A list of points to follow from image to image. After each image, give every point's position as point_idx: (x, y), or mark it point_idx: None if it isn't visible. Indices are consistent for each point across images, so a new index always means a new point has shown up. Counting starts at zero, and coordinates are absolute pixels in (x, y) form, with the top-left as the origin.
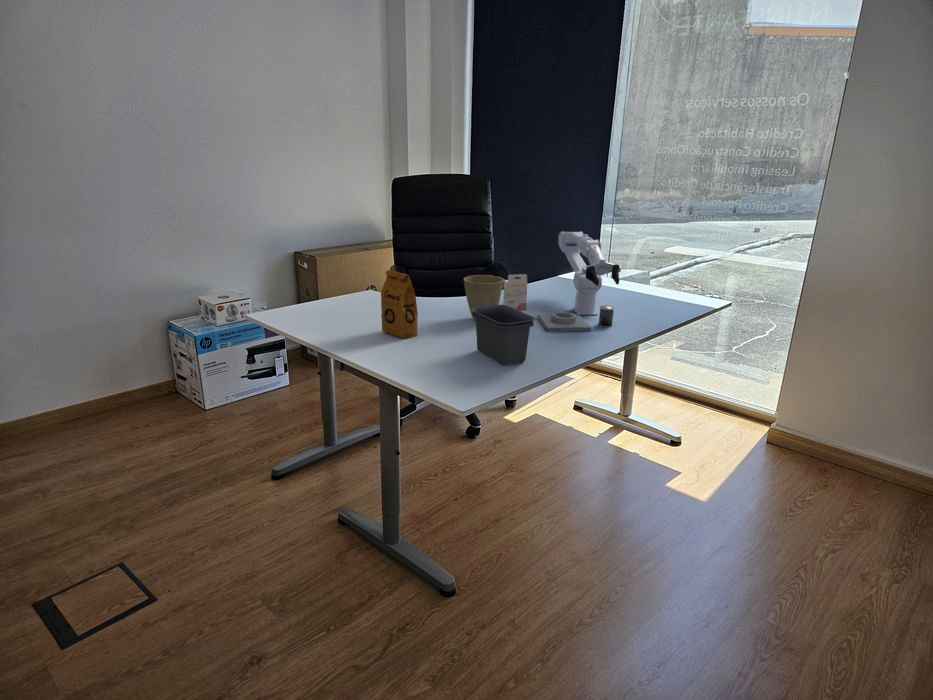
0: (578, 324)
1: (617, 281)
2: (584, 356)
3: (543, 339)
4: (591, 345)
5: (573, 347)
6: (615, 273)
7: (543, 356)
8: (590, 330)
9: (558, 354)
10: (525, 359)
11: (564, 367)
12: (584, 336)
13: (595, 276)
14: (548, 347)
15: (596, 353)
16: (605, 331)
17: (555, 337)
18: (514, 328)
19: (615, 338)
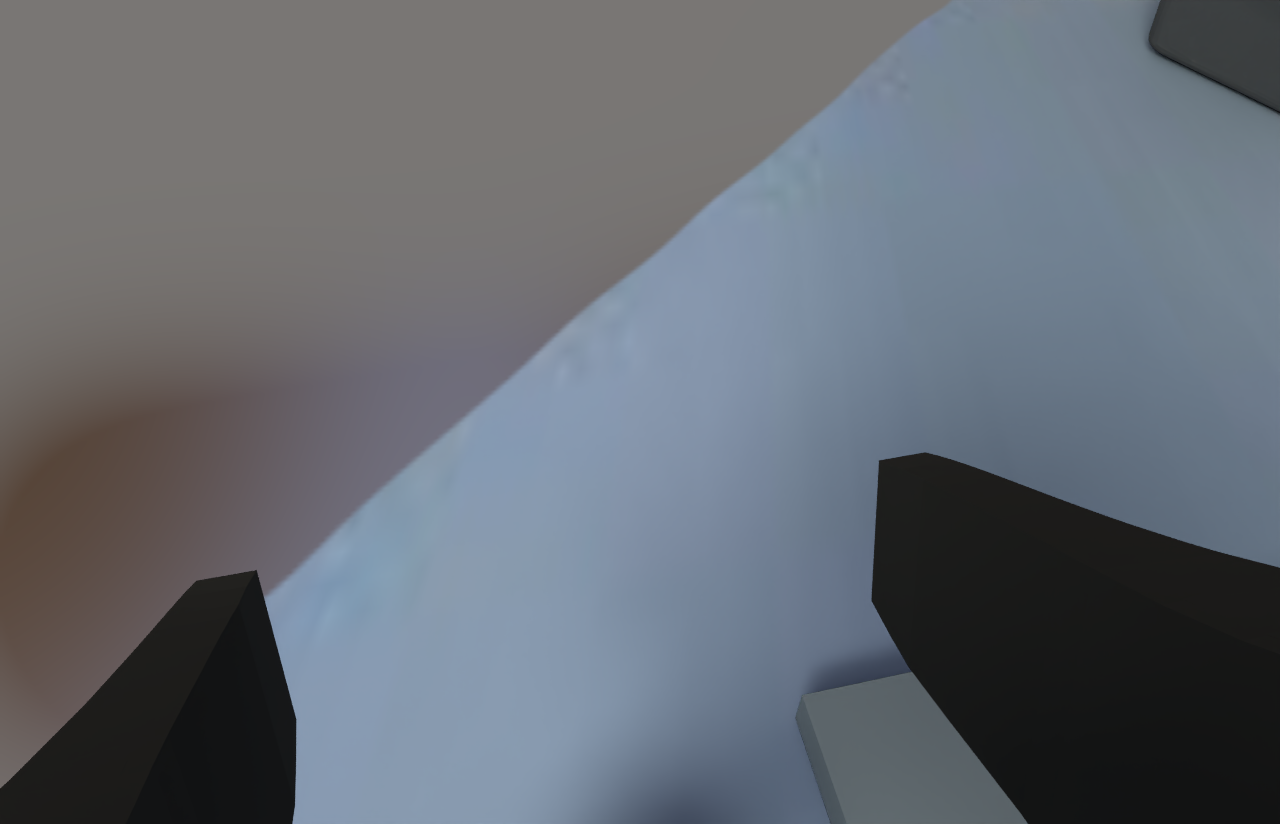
0: (985, 795)
1: (264, 620)
2: (814, 150)
3: (1215, 385)
4: (773, 322)
5: (913, 267)
6: (159, 816)
7: (1074, 121)
8: (800, 714)
9: (990, 154)
10: (1149, 34)
11: (911, 31)
12: (853, 526)
13: (1060, 504)
14: (1100, 242)
15: (733, 198)
16: (606, 753)
17: (1130, 450)
18: None
19: (528, 522)
